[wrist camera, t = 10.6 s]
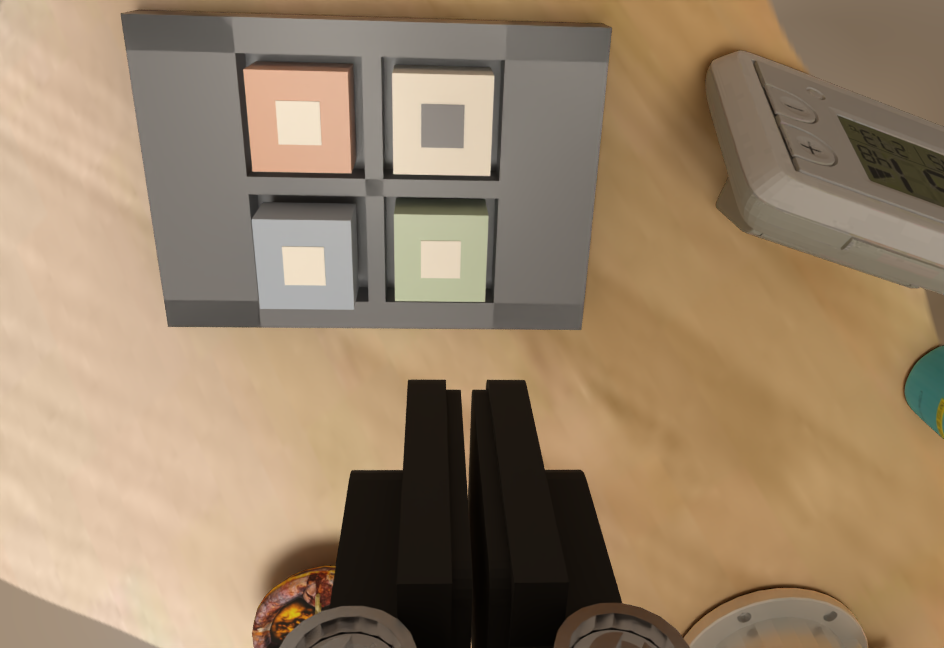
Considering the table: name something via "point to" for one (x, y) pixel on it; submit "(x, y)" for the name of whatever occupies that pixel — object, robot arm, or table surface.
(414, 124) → the key ivory
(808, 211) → the digital clock
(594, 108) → the keypad frame
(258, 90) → the key terracotta
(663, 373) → the table surface
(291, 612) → the bird feeder
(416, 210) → the key sage
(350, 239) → the key slate
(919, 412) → the tube
